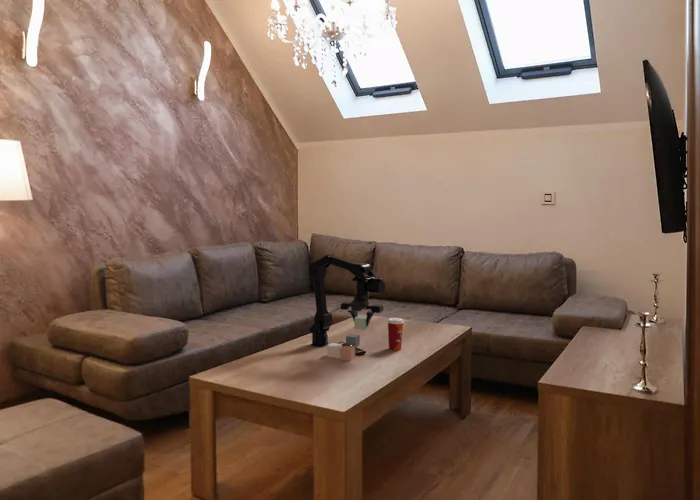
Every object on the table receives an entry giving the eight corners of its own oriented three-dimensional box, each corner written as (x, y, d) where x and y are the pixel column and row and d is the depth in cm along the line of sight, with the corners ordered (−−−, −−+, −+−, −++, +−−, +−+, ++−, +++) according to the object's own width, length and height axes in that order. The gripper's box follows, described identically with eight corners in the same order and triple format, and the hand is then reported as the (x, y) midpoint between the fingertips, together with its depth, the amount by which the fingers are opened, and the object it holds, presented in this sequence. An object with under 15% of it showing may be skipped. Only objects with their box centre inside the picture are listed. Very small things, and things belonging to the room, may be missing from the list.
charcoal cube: (345, 346, 267) (345, 336, 266) (349, 344, 271) (349, 333, 271) (355, 347, 265) (355, 337, 264) (359, 345, 269) (359, 334, 269)
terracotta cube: (339, 359, 245) (340, 348, 244) (344, 356, 250) (344, 345, 249) (350, 361, 243) (350, 349, 243) (354, 358, 248) (355, 347, 247)
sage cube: (354, 328, 253) (354, 317, 253) (358, 326, 258) (358, 315, 257) (364, 330, 251) (365, 318, 251) (368, 327, 256) (368, 316, 256)
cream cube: (327, 356, 249) (327, 345, 249) (331, 353, 254) (331, 342, 254) (337, 358, 248) (337, 346, 247) (342, 355, 252) (342, 344, 252)
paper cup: (402, 351, 259) (403, 321, 257) (385, 350, 260) (386, 320, 259) (404, 347, 266) (404, 317, 265) (387, 346, 268) (388, 317, 266)
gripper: (335, 292, 249) (335, 327, 251) (375, 296, 242) (375, 332, 244) (345, 289, 259) (345, 322, 261) (384, 292, 252) (383, 326, 254)
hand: (361, 325), depth 255 cm, fingers closed on sage cube, 5 cm apart
